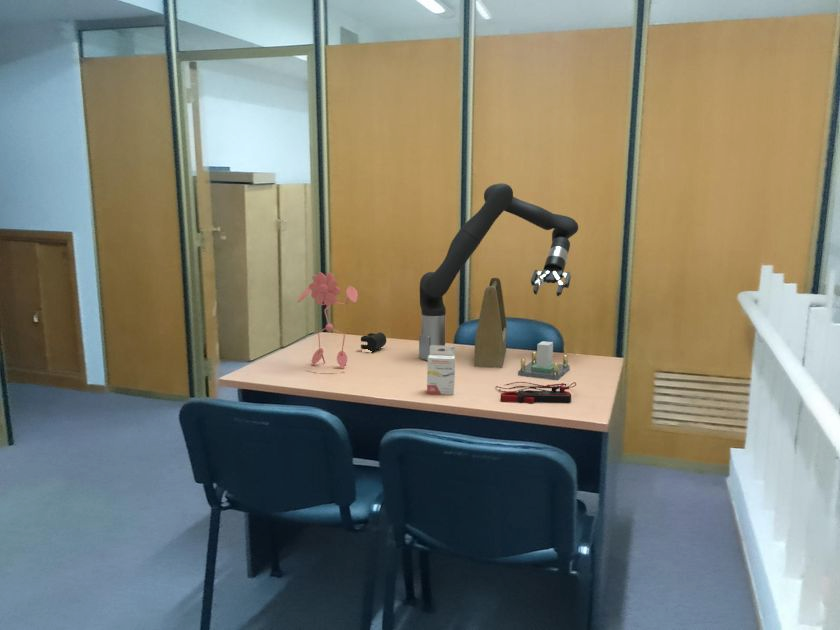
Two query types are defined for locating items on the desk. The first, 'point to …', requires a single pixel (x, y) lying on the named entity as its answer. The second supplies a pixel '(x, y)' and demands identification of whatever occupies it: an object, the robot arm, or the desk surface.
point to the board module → (544, 357)
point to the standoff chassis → (554, 374)
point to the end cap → (373, 341)
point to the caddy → (491, 328)
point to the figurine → (326, 293)
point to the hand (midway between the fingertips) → (546, 294)
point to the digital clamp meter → (537, 394)
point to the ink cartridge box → (441, 370)
